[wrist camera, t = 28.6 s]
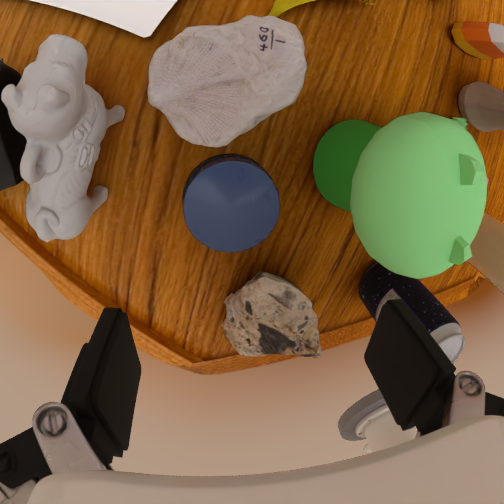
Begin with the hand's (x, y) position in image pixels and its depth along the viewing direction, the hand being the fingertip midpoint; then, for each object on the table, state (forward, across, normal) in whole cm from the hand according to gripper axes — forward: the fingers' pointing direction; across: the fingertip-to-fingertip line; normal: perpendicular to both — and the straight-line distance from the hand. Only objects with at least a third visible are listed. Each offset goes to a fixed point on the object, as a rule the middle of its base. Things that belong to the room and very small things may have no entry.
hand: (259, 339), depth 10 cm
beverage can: (+15, -15, +7) cm, 23 cm away
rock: (+15, -2, +9) cm, 18 cm away
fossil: (+15, +1, -10) cm, 18 cm away
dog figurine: (+15, +12, -6) cm, 20 cm away
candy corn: (+15, -22, -19) cm, 33 cm away
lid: (+13, 0, -1) cm, 13 cm away
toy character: (+15, -14, -5) cm, 21 cm away
